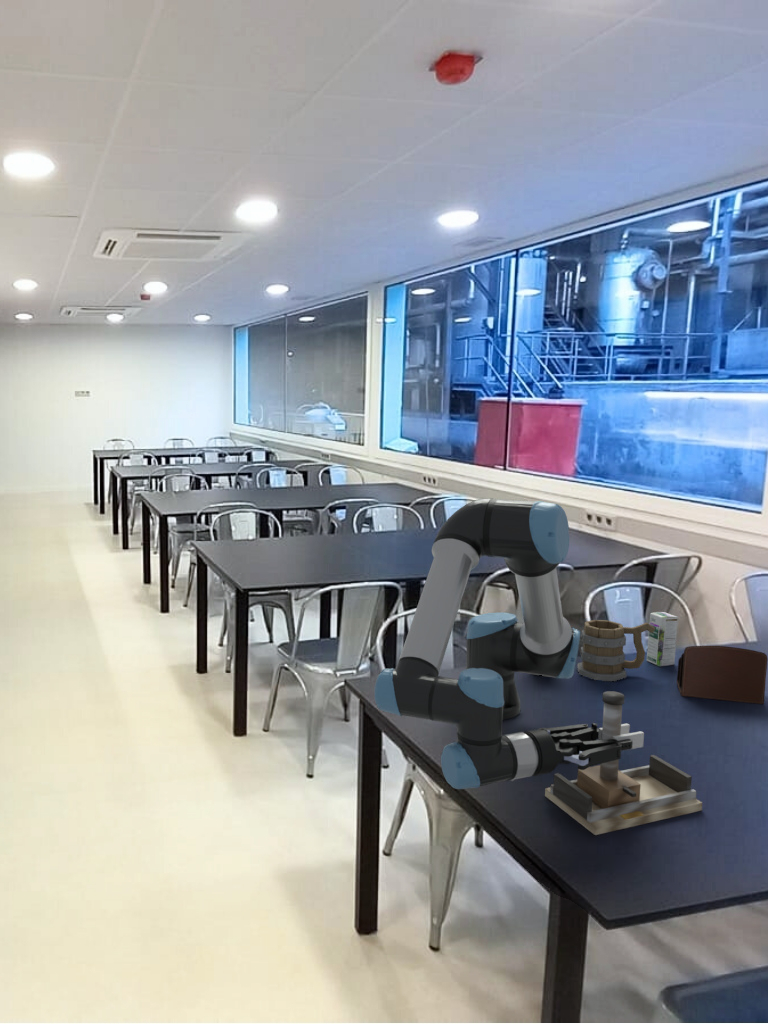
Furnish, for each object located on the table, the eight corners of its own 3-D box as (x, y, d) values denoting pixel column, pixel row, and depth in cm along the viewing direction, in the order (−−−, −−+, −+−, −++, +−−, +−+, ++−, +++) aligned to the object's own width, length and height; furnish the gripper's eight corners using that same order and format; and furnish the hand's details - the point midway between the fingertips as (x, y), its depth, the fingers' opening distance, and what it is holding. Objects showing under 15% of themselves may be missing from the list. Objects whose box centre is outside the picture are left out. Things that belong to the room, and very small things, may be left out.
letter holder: (764, 705, 202) (768, 651, 200) (680, 697, 207) (684, 643, 205) (755, 691, 212) (760, 639, 210) (676, 684, 216) (679, 633, 215)
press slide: (617, 818, 141) (623, 711, 138) (576, 789, 151) (582, 689, 149) (648, 811, 143) (656, 706, 141) (607, 783, 154) (613, 684, 151)
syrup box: (645, 660, 236) (648, 612, 234) (662, 659, 238) (665, 611, 236) (658, 666, 230) (662, 617, 228) (675, 665, 232) (679, 616, 230)
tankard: (580, 679, 218) (583, 625, 216) (575, 665, 230) (578, 614, 228) (656, 684, 215) (660, 630, 213) (647, 669, 228) (651, 618, 226)
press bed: (595, 835, 138) (596, 805, 138) (544, 795, 152) (546, 768, 151) (701, 810, 148) (703, 782, 147) (645, 775, 162) (647, 749, 161)
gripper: (501, 755, 148) (605, 737, 157) (553, 795, 133) (664, 772, 142) (503, 716, 147) (607, 700, 156) (555, 752, 132) (667, 732, 141)
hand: (634, 735), depth 149 cm, fingers closed on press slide, 3 cm apart
